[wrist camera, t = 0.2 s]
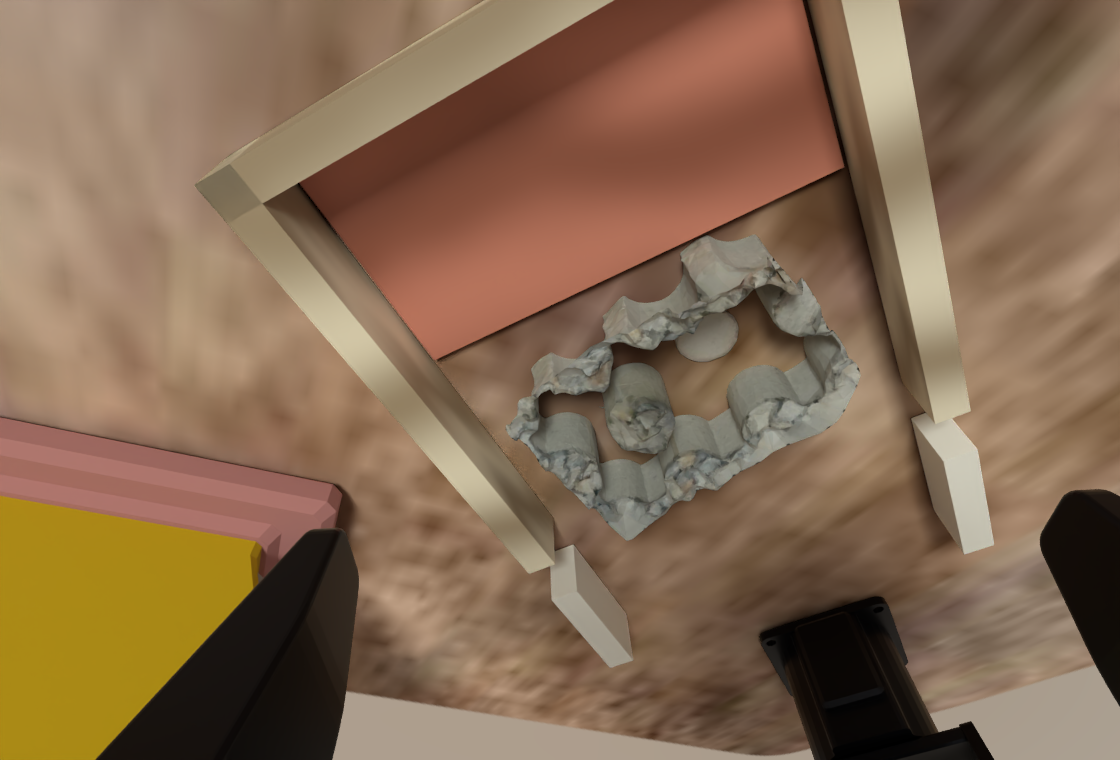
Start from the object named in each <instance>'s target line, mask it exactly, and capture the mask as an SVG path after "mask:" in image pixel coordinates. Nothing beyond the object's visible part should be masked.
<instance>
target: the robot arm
mask: <svg viewBox="0 0 1120 760" xmlns="http://www.w3.org/2000/svg"><path fill="white" fill-rule="evenodd" d="M1040 547H1041V551H1042V554H1043V556H1044V558H1045V560H1046V563H1047V565H1048V567H1049V569H1050V571H1051V573H1052V575H1053V577H1054V579H1055V581H1056V584H1057V586H1058V588H1059V590H1060V592H1061V594H1062V596H1063V598H1064V600H1065V603H1066V605H1067V607H1068V609H1069V611H1070V613H1071V615H1072V617H1073V619H1074V621H1075V624H1076V626H1077V628H1078V630H1079V632H1080V634H1081V636H1082V638H1083V640H1084V643H1085V645H1086V647H1087V649H1088V651H1089V653H1090V655H1091V657H1092V659H1093V661H1094V663H1095V665H1096V667H1097V668H1098V670H1099V672H1100V674H1101V675H1102V677H1103V679H1104V681H1105V683H1106V684H1107V686H1108V688H1109V689H1110V691H1111V693H1112V695H1113V696H1114V698H1115V700H1116V701H1117V703H1118V704H1119V706H1120V496H1118V495H1116V494H1114V493H1112V492H1110V491H1107V490H1101V489H1093V490H1074V491H1070V492H1068V493H1067V494H1065V495H1064V496H1063V497H1062V499H1061V500H1060V502H1059V504H1058V505H1057V507H1056V509H1055V510H1054V512H1053V514H1052V515H1051V517H1050V519H1049V520H1048V522H1047V524H1046V525H1045V527H1044V529H1043V531H1042V533H1041V536H1040ZM358 589H359V575H358V569H357V566H356V563H355V560H354V556H353V553H352V550H351V547H350V544H349V541H348V538H347V535H346V533H345V531H344V530H343V529H341V528H322V529H312V530H309V531H308V532H306V533H305V534H304V535H303V536H302V537H301V538H300V539H299V540H298V541H297V542H296V543H295V544H294V545H293V546H292V548H291V549H290V550H289V551H288V552H287V553H286V554H285V555H284V556H283V557H282V558H281V559H280V560H279V562H278V563H277V564H276V565H275V566H274V567H273V568H272V569H271V570H270V571H269V572H268V573H267V575H266V576H265V577H264V578H263V579H262V580H261V581H260V582H259V583H258V584H257V585H256V586H255V587H254V589H253V590H252V591H251V592H250V593H249V594H248V595H247V596H246V597H245V598H244V599H243V600H242V601H241V603H240V604H239V605H238V606H237V607H236V608H235V609H234V610H233V611H232V612H231V613H230V614H229V616H228V617H227V618H226V619H225V620H224V621H223V622H222V623H221V624H220V625H219V626H218V627H217V628H216V630H215V631H214V632H213V633H212V634H211V635H210V636H209V637H208V638H207V639H206V640H205V641H204V643H203V644H202V645H201V646H200V647H199V648H198V649H197V650H196V651H195V652H194V653H193V654H192V655H191V657H190V658H189V659H188V660H187V661H186V662H185V663H184V664H183V665H182V666H181V667H180V668H179V669H178V671H177V672H176V673H175V674H174V675H173V676H172V677H171V678H170V679H169V680H168V681H167V682H166V684H165V685H164V686H163V687H162V688H161V689H160V690H159V691H158V692H157V693H156V694H155V695H154V696H153V698H152V699H151V700H150V701H149V702H148V703H147V704H146V705H145V706H144V707H143V708H142V709H141V711H140V712H139V713H138V714H137V715H136V716H135V717H134V718H133V719H132V720H131V721H130V722H129V723H128V725H127V726H126V727H125V728H124V729H123V730H122V731H121V732H120V733H119V734H118V735H117V736H116V737H115V739H114V740H113V741H112V742H111V743H110V744H109V745H108V746H107V747H106V748H105V749H104V750H103V752H102V753H101V754H100V755H99V756H98V757H97V758H96V759H95V760H332V758H333V754H334V750H335V746H336V741H337V737H338V733H339V728H340V723H341V719H342V714H343V708H344V701H345V694H346V688H347V679H348V671H349V663H350V655H351V647H352V639H353V630H354V622H355V614H356V606H357V598H358ZM759 638H760V642H761V645H762V647H763V649H764V651H765V652H766V654H767V656H768V657H769V659H770V661H771V663H772V664H773V666H774V668H775V669H776V671H777V673H778V674H779V676H780V678H781V680H782V681H783V683H784V685H785V686H786V688H787V690H788V692H789V693H790V695H791V696H793V698H794V701H795V704H796V707H797V710H798V713H799V715H800V718H801V721H802V724H803V727H804V730H805V733H806V736H807V739H808V742H809V745H810V748H811V751H812V754H813V757H814V760H994V758H993V757H992V755H991V753H990V752H989V750H988V748H987V747H986V745H985V743H984V742H983V740H982V738H981V737H980V735H979V733H978V732H977V730H976V728H975V727H974V725H973V723H972V722H971V721H970V722H967V723H963V724H960V725H959V727H957V728H953V729H950V730H946V731H942V732H938V730H937V728H936V726H935V724H934V722H933V720H932V718H931V716H930V714H929V712H928V710H927V708H926V706H925V704H924V702H923V700H922V698H921V696H920V694H919V692H918V690H917V688H916V686H915V684H914V682H913V680H912V678H911V676H910V674H909V672H908V670H907V668H906V666H905V665H906V664H907V663H908V660H907V657H906V654H905V651H904V649H903V646H902V643H901V640H900V637H899V634H898V632H897V629H896V626H895V623H894V620H893V618H892V615H891V612H890V609H889V606H888V604H887V602H886V601H885V599H884V598H883V597H873V598H870V599H866V600H863V601H860V602H857V603H854V604H851V605H847V606H844V607H841V608H838V609H835V610H832V611H828V612H825V613H822V614H819V615H816V616H813V617H809V618H806V619H803V620H800V621H797V622H794V623H790V624H787V625H784V626H781V627H778V628H774V629H771V630H768V631H765V632H763V633H762V634H761V635H760V636H759Z"/></svg>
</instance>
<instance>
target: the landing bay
mask: <svg viewBox="0 0 1120 760" xmlns="http://www.w3.org/2000/svg"><path fill="white" fill-rule="evenodd" d="M911 420H912V424H913V428H914V432H915V436H916V440H917V444H918V448H919V452H920V456H921V461H922V465H923V469H924V473H925V477H926V481H927V485H928V489H929V493H930V497H931V501H932V505H933V509H934V511H935V512H936V514H937V515H938V517H939V518H940V520H941V521H942V523H943V524H944V526H945V527H946V529H947V530H948V532H949V533H950V535H951V536H952V538H953V539H954V540H955V542H956V543H957V545H958V546H959V548H960V549H961V551H962V552H963V554H968V553H971V552H974V551H977V550H980V549H983V548H986V547H989V546H993V545H994V541H993V535H992V529H991V524H990V518H989V512H988V507H987V501H986V495H985V490H984V484H983V478H982V473H981V467H980V461H979V456H978V450H977V448H976V447H975V446H974V444H973V443H972V442H971V441H970V440H969V439H968V437H967V436H966V435H965V434H964V433H963V431H962V430H961V429H960V428H959V427H958V425H957V424H956V423H955V422H954V421H953V419H952V418H951V419H948V420H945V421H943V422H940V423H937V424H935V423H934V422H933V421H932V419H931V418H930V417H929V416H928V414H927V413H924V414H921V415H918V416H916V417H913V418H911ZM550 572H551V597H552V601H553V602H554V603H555V605H556V606H557V607H558V608H559V609H560V610H561V612H562V613H563V614H564V615H565V616H566V617H567V619H568V620H569V621H570V622H571V623H572V624H573V625H574V627H575V628H576V629H577V630H578V631H579V632H580V634H581V635H582V636H583V637H584V638H585V639H586V641H587V642H588V643H589V644H590V645H591V646H592V648H593V649H594V650H595V651H596V652H597V653H598V654H599V656H600V657H601V658H602V659H603V660H604V661H605V663H606V664H607V665H608V666H609V667H610V668H612V667H615V666H618V665H621V664H624V663H627V662H630V661H633V655H632V648H631V641H630V634H629V627H628V620H627V614H626V613H625V611H624V610H623V609H622V607H621V606H620V605H619V603H618V602H617V601H616V600H615V598H614V597H613V596H612V594H611V593H610V592H609V590H608V589H607V588H606V586H605V585H604V584H603V582H602V581H601V580H600V579H599V577H598V576H597V575H596V573H595V572H594V571H593V569H592V568H591V567H590V565H589V564H588V563H587V562H586V560H585V559H584V558H583V556H582V555H581V554H580V552H579V551H578V550H577V548H576V547H575V546H574V545H570V546H568V547H565V548H562V549H560V550H557V551H555V564H554V565H552V566H550Z"/></svg>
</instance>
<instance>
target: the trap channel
mask: <svg viewBox="0 0 1120 760" xmlns="http://www.w3.org/2000/svg"><path fill="white" fill-rule="evenodd" d="M807 2H808V6H809V10H810V14H811V18H812V22H813V26H814V30H815V34H816V38H817V42H818V46H819V50H820V54H821V58H822V62H823V66H824V70H825V74H826V78H827V82H828V86H829V90H830V94H831V98H832V102H833V106H834V110H835V114H836V119H837V123H838V127H839V131H840V135H841V139H842V143H843V147H844V151H845V155H846V159H847V163H848V167H849V171H850V175H851V179H852V183H853V187H854V191H855V195H856V199H857V203H858V207H859V211H860V215H861V219H862V223H863V227H864V231H865V235H866V239H867V243H868V247H869V251H870V255H871V259H872V263H873V267H874V271H875V275H876V279H877V283H878V287H879V292H880V296H881V300H882V304H883V308H884V312H885V316H886V320H887V324H888V328H889V332H890V336H891V340H892V344H893V348H894V352H895V356H896V360H897V364H898V368H899V372H900V376H901V380H902V383H903V384H904V386H905V387H906V388H907V389H908V391H909V392H910V393H911V394H912V396H913V397H914V398H915V399H916V401H917V402H918V403H919V404H920V406H921V407H922V408H923V409H924V411H925V412H926V413H927V414H928V416H929V417H930V418H931V419H932V421H933V422H934V423H935V424H937V423H940V422H943V421H945V420H948V419H951V418H954V417H956V416H959V415H962V414H964V413H967V412H970V411H971V410H970V404H969V399H968V393H967V387H966V382H965V376H964V370H963V365H962V359H961V353H960V348H959V342H958V336H957V331H956V325H955V319H954V314H953V308H952V302H951V297H950V291H949V285H948V280H947V274H946V268H945V262H944V257H943V251H942V245H941V240H940V234H939V228H938V223H937V217H936V211H935V206H934V200H933V194H932V189H931V183H930V177H929V172H928V166H927V160H926V155H925V149H924V143H923V138H922V132H921V126H920V121H919V115H918V109H917V104H916V98H915V92H914V86H913V81H912V75H911V69H910V64H909V58H908V52H907V47H906V41H905V35H904V30H903V24H902V18H901V13H900V7H899V1H898V0H807ZM843 167H844V164H843V160H842V156H841V152H840V148H839V144H838V140H837V136H836V132H835V128H834V124H833V120H832V116H831V112H830V108H829V104H828V100H827V96H826V92H825V88H824V84H823V80H822V76H821V72H820V68H819V64H818V60H817V57H816V53H815V49H814V45H813V41H812V37H811V33H810V29H809V25H808V21H807V17H806V13H805V9H804V5H803V1H802V0H484V1H482V2H481V3H479V4H477V5H476V6H474V7H472V8H471V9H469V10H467V11H466V12H464V13H463V14H461V15H459V16H458V17H456V18H454V19H453V20H451V21H449V22H448V23H446V24H444V25H443V26H441V27H440V28H438V29H436V30H435V31H433V32H431V33H430V34H428V35H426V36H425V37H423V38H422V39H420V40H418V41H417V42H415V43H413V44H412V45H410V46H408V47H407V48H405V49H403V50H402V51H400V52H399V53H397V54H395V55H394V56H392V57H390V58H389V59H387V60H385V61H384V62H382V63H380V64H379V65H377V66H376V67H374V68H372V69H371V70H369V71H367V72H366V73H364V74H362V75H361V76H359V77H357V78H356V79H354V80H353V81H351V82H349V83H348V84H346V85H344V86H343V87H341V88H339V89H338V90H336V91H334V92H333V93H331V94H330V95H328V96H326V97H325V98H323V99H321V100H320V101H318V102H316V103H315V104H313V105H312V106H310V107H308V108H307V109H305V110H303V111H302V112H300V113H298V114H297V115H295V116H293V117H292V118H290V119H289V120H287V121H285V122H284V123H282V124H280V125H279V126H277V127H275V128H274V129H272V130H270V131H269V132H267V133H266V134H264V135H262V136H261V137H259V138H257V139H256V140H254V141H252V142H251V143H249V144H247V145H246V146H244V147H243V148H241V149H239V150H238V151H236V152H234V153H233V154H231V155H229V156H228V157H227V158H226V159H225V160H223V161H222V162H221V163H220V164H219V165H217V166H216V167H215V168H214V169H213V170H211V171H210V172H209V173H208V174H207V175H206V176H204V177H203V178H202V179H201V180H200V181H198V182H197V183H196V184H195V185H194V186H195V187H196V188H197V189H198V190H199V192H200V193H201V194H202V195H203V196H204V197H205V198H206V200H207V201H208V202H209V203H210V204H211V205H212V207H213V208H214V209H215V210H216V211H217V212H218V214H219V215H220V216H221V217H222V218H223V219H224V221H225V222H226V223H227V224H228V225H229V226H230V228H231V229H232V230H233V231H234V232H235V233H236V234H237V236H238V237H239V238H240V239H241V240H242V241H243V243H244V244H245V245H246V246H247V247H248V248H249V250H250V251H251V252H252V253H253V254H254V255H255V257H256V258H257V259H258V260H259V261H260V262H261V263H262V265H263V266H264V267H265V268H266V269H267V270H268V272H269V273H270V274H271V275H272V276H273V277H274V279H275V280H276V281H277V282H278V283H279V284H280V286H281V287H282V288H283V289H284V290H285V291H286V292H287V294H288V295H289V296H290V297H291V298H292V299H293V301H294V302H295V303H296V304H297V305H298V306H299V308H300V309H301V310H302V311H303V312H304V313H305V315H306V316H307V317H308V318H309V319H310V320H311V321H312V323H313V324H314V325H315V326H316V327H317V328H318V330H319V331H320V332H321V333H322V334H323V335H324V337H325V338H326V339H327V340H328V341H329V342H330V344H331V345H332V346H333V347H334V348H335V349H336V350H337V352H338V353H339V354H340V355H341V356H342V357H343V359H344V360H345V361H346V362H347V363H348V364H349V366H350V367H351V368H352V369H353V370H354V371H355V373H356V374H357V375H358V376H359V377H360V378H361V380H362V381H363V382H364V383H365V384H366V385H367V386H368V388H369V389H370V390H371V391H372V392H373V393H374V395H375V396H376V397H377V398H378V399H379V400H380V402H381V403H382V404H383V405H384V406H385V407H386V409H387V410H388V411H389V412H390V413H391V414H392V415H393V417H394V418H395V419H396V420H397V421H398V422H399V424H400V425H401V426H402V427H403V428H404V429H405V431H406V432H407V433H408V434H409V435H410V436H411V438H412V439H413V440H414V441H415V442H416V443H417V444H418V446H419V447H420V448H421V449H422V450H423V451H424V453H425V454H426V455H427V456H428V457H429V458H430V460H431V461H432V462H433V463H434V464H435V465H436V467H437V468H438V469H439V470H440V471H441V472H442V473H443V475H444V476H445V477H446V478H447V479H448V480H449V482H450V483H451V484H452V485H453V486H454V487H455V489H456V490H457V491H458V492H459V493H460V494H461V496H462V497H463V498H464V499H465V500H466V501H467V502H468V504H469V505H470V506H471V507H472V508H473V509H474V511H475V512H476V513H477V514H478V515H479V516H480V518H481V519H482V520H483V521H484V522H485V523H486V525H487V526H488V527H489V528H490V529H491V530H492V532H493V533H494V534H495V535H496V536H497V537H498V538H499V540H500V541H501V542H502V543H503V544H504V545H505V547H506V548H507V549H508V550H509V551H510V552H511V554H512V555H513V556H514V557H515V558H516V559H517V561H518V562H519V563H520V564H521V565H522V566H523V567H524V569H525V570H526V571H527V572H528V573H529V574H530V573H533V572H535V571H538V570H541V569H544V568H546V567H549V566H552V565H554V564H555V550H554V529H553V517H552V516H551V514H550V513H549V512H548V511H547V509H546V508H545V507H544V505H543V504H542V503H541V501H540V500H539V499H538V497H537V496H536V495H535V494H534V492H533V491H532V490H531V488H530V487H529V486H528V484H527V483H526V482H525V480H524V479H523V478H522V477H521V475H520V474H519V473H518V471H517V470H516V469H515V467H514V466H513V465H512V463H511V462H510V461H509V460H508V458H507V457H506V456H505V454H504V453H503V452H502V450H501V449H500V448H499V446H498V445H497V444H496V442H495V441H494V440H493V439H492V437H491V436H490V435H489V433H488V432H487V431H486V429H485V428H484V427H483V425H482V424H481V423H480V422H479V420H478V419H477V418H476V416H475V415H474V414H473V412H472V411H471V410H470V408H469V407H468V406H467V405H466V403H465V402H464V401H463V399H462V398H461V397H460V395H459V394H458V393H457V391H456V390H455V389H454V388H453V386H452V385H451V384H450V382H449V381H448V380H447V378H446V377H445V376H444V374H443V373H442V372H441V371H440V369H439V368H438V367H437V365H436V364H435V363H434V361H433V360H432V359H431V357H430V356H429V355H428V354H427V352H426V351H425V350H424V348H423V347H422V346H421V344H420V343H419V342H418V340H417V339H416V338H415V337H414V335H413V334H412V333H411V331H410V330H409V329H408V327H407V326H406V325H405V323H404V322H403V321H402V320H401V318H400V317H399V316H398V314H397V313H396V312H395V310H394V309H393V308H392V306H391V305H390V304H389V302H388V301H387V300H386V299H385V297H384V296H383V295H382V293H381V292H380V291H379V289H378V288H377V287H376V285H375V284H374V283H373V282H372V280H371V279H370V278H369V276H368V275H367V274H366V272H365V271H364V270H363V268H362V267H361V266H360V265H359V263H358V262H357V261H356V259H355V258H354V257H353V255H352V254H351V253H350V251H349V250H348V249H347V248H346V246H345V245H344V244H343V242H342V241H341V240H340V238H339V237H338V236H337V234H336V233H335V232H334V231H333V229H332V228H331V227H330V225H329V224H328V223H327V221H326V220H325V219H324V217H323V216H322V215H321V214H320V212H319V211H318V210H317V208H316V207H315V206H314V204H313V203H312V202H311V200H310V199H309V198H308V197H307V195H306V194H305V193H304V191H303V190H302V189H301V187H300V186H299V185H298V183H300V184H301V186H302V187H303V188H304V190H305V191H306V192H307V194H308V195H309V196H310V197H311V199H312V200H313V201H314V203H315V204H316V205H317V207H318V208H319V209H320V211H321V212H322V213H323V215H324V216H325V217H326V218H327V220H328V221H329V222H330V224H331V225H332V226H333V228H334V229H335V230H336V232H337V233H338V234H339V235H340V237H341V238H342V239H343V241H344V242H345V243H346V245H347V246H348V247H349V249H350V250H351V251H352V253H353V254H354V255H355V256H356V258H357V259H358V260H359V262H360V263H361V264H362V266H363V267H364V268H365V270H366V271H367V272H368V274H369V275H370V276H371V277H372V279H373V280H374V281H375V283H376V284H377V285H378V287H379V288H380V289H381V291H382V292H383V293H384V295H385V296H386V297H387V298H388V300H389V301H390V302H391V304H392V305H393V306H394V308H395V309H396V310H397V312H398V313H399V314H400V316H401V317H402V318H403V319H404V321H405V322H406V323H407V325H408V326H409V327H410V329H411V330H412V331H413V333H414V334H415V335H416V337H417V338H418V339H419V340H420V342H421V343H422V344H423V346H424V347H425V348H426V350H427V351H428V352H429V354H430V355H431V356H432V358H433V359H434V360H436V359H438V358H440V357H443V356H445V355H447V354H449V353H451V352H453V351H455V350H457V349H459V348H462V347H464V346H466V345H468V344H470V343H472V342H474V341H476V340H479V339H481V338H483V337H485V336H487V335H489V334H491V333H493V332H496V331H498V330H500V329H502V328H504V327H506V326H508V325H510V324H512V323H515V322H517V321H519V320H521V319H523V318H525V317H527V316H529V315H532V314H534V313H536V312H538V311H540V310H542V309H544V308H546V307H549V306H551V305H553V304H555V303H557V302H559V301H561V300H563V299H565V298H568V297H570V296H572V295H574V294H576V293H578V292H580V291H582V290H585V289H587V288H589V287H591V286H593V285H595V284H597V283H599V282H601V281H604V280H606V279H608V278H610V277H612V276H614V275H616V274H618V273H621V272H623V271H625V270H627V269H629V268H631V267H633V266H635V265H638V264H640V263H642V262H644V261H646V260H648V259H650V258H652V257H654V256H657V255H659V254H661V253H663V252H665V251H667V250H669V249H671V248H674V247H676V246H678V245H680V244H682V243H684V242H686V241H688V240H691V239H693V238H695V237H697V236H699V235H701V234H703V233H705V232H707V231H710V230H712V229H714V228H716V227H718V226H720V225H722V224H724V223H727V222H729V221H731V220H733V219H735V218H737V217H739V216H741V215H744V214H746V213H748V212H750V211H752V210H754V209H756V208H758V207H760V206H763V205H765V204H767V203H769V202H771V201H773V200H775V199H777V198H780V197H782V196H784V195H786V194H788V193H790V192H792V191H794V190H796V189H799V188H801V187H803V186H805V185H807V184H809V183H811V182H813V181H816V180H818V179H820V178H822V177H824V176H826V175H828V174H830V173H833V172H835V171H837V170H839V169H841V168H843Z"/></svg>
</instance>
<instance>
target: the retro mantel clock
mask: <svg viewBox="0 0 1120 760" xmlns="http://www.w3.org/2000/svg"><path fill="white" fill-rule="evenodd" d="M341 499H342V493H341V492H340V491H339V490H338V489H337V488H336V487H335V485H334V484H331V483H326V482H321V481H316V480H311V479H306V478H301V477H295V476H290V475H285V474H280V473H275V472H270V471H265V470H260V469H255V468H250V467H245V466H240V465H235V464H230V463H225V462H220V461H215V460H210V459H205V458H200V457H194V456H189V455H185V454H180V453H175V452H170V451H165V450H160V449H155V448H150V447H145V446H140V445H135V444H130V443H125V442H120V441H115V440H110V439H105V438H100V437H95V436H90V435H85V434H80V433H75V432H71V431H66V430H61V429H56V428H51V427H46V426H41V425H36V424H31V423H26V422H21V421H16V420H11V419H6V418H1V417H0V760H95V759H96V758H97V757H98V756H99V755H100V754H101V753H102V752H103V750H104V749H105V748H106V747H107V746H108V745H109V744H110V743H111V742H112V741H113V740H114V739H115V737H116V736H117V735H118V734H119V733H120V732H121V731H122V730H123V729H124V728H125V727H126V726H127V725H128V723H129V722H130V721H131V720H132V719H133V718H134V717H135V716H136V715H137V714H138V713H139V712H140V711H141V709H142V708H143V707H144V706H145V705H146V704H147V703H148V702H149V701H150V700H151V699H152V698H153V696H154V695H155V694H156V693H157V692H158V691H159V690H160V689H161V688H162V687H163V686H164V685H165V684H166V682H167V681H168V680H169V679H170V678H171V677H172V676H173V675H174V674H175V673H176V672H177V671H178V669H179V668H180V667H181V666H182V665H183V664H184V663H185V662H186V661H187V660H188V659H189V658H190V657H191V655H192V654H193V653H194V652H195V651H196V650H197V649H198V648H199V647H200V646H201V645H202V644H203V643H204V641H205V640H206V639H207V638H208V637H209V636H210V635H211V634H212V633H213V632H214V631H215V630H216V628H217V627H218V626H219V625H220V624H221V623H222V622H223V621H224V620H225V619H226V618H227V617H228V616H229V614H230V613H231V612H232V611H233V610H234V609H235V608H236V607H237V606H238V605H239V604H240V603H241V601H242V600H243V599H244V598H245V597H246V596H247V595H248V594H249V593H250V592H251V591H252V590H253V589H254V587H255V586H256V585H257V584H258V583H259V582H260V581H261V580H262V579H263V578H264V577H265V576H266V575H267V573H268V572H269V571H270V570H271V569H272V568H273V567H274V566H275V565H276V564H277V563H278V562H279V560H280V559H281V558H282V557H283V556H284V555H285V554H286V553H287V552H288V551H289V550H290V549H291V548H292V546H293V545H294V544H295V543H296V542H297V541H298V540H299V539H300V538H301V537H302V536H303V535H304V534H305V533H306V532H308V531H309V530H312V529H322V528H335V526H336V521H337V517H338V512H339V508H340V503H341Z"/></svg>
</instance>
